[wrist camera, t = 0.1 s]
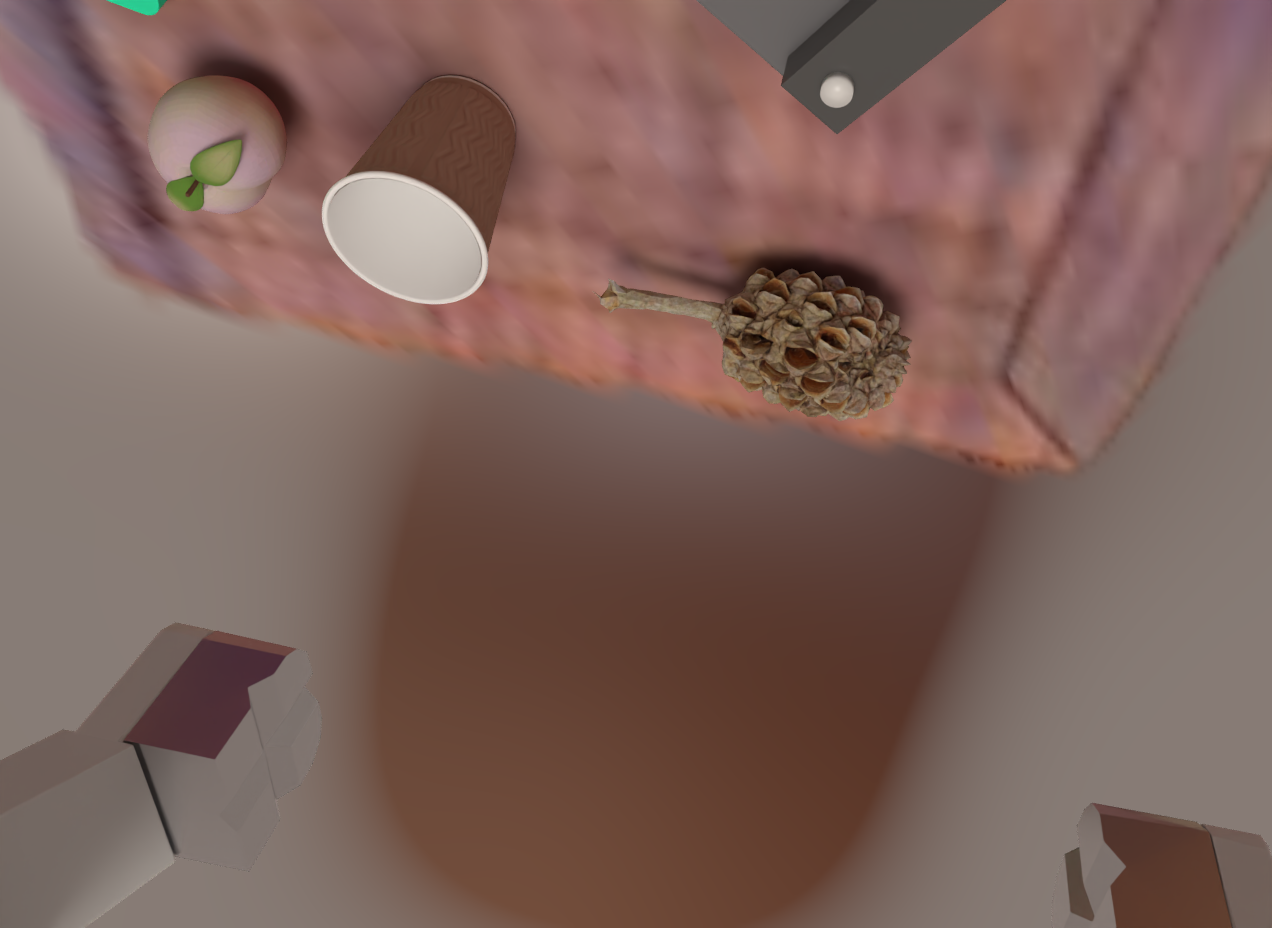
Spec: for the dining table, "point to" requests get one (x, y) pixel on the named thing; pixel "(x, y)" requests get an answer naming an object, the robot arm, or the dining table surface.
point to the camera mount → (141, 5)
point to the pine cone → (798, 340)
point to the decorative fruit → (216, 143)
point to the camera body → (847, 45)
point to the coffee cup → (426, 194)
